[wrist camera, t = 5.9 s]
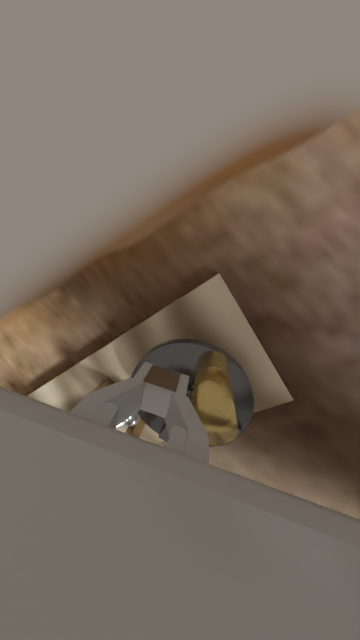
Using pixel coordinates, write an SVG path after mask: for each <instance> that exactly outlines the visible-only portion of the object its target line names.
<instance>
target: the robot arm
mask: <svg viewBox="0 0 360 640" xmlns="http://www.w3.org/2000/svg"><path fill="white" fill-rule="evenodd" d="M188 382H189V376H188V375H184V374H180V373H177V372H174V371H171V370H168V369H165V368H162V367H160V366H157V365H154V364H151V363H148V362H144V363H143V365H142V366H141V368H140V369H139V370H138V372H137V373H136V375H135V376H134V377H133V378H131V377H130V378H128V379H125V380H122V381H120V382H117V383H114V384H112V385H109V386H106V387H104V388H101V389H99V390H96V391H93V392H91V393H88V394H87V395H86V396H85V397H84V398H83V399H82V400H81V401H80V402H79V403H78V404H77V405H76V406H75V407H74V408H73V410H72V411H71V412H67V411H65V410H62V409H59V408H57V407H54V406H51V405H49V404H46V403H43V402H40V401H38V400H35V399H32V398H30V397H27V396H24V395H22V394H19V393H16V392H14V391H11V390H8V389H5V388H3V387H0V640H360V520H359V519H356V518H353V517H351V516H348V515H345V514H343V513H340V512H337V511H335V510H332V509H329V508H326V507H324V506H321V505H318V504H316V503H313V502H310V501H308V500H305V499H302V498H299V497H297V496H294V495H291V494H289V493H286V492H283V491H281V490H278V489H275V488H272V487H270V486H267V485H264V484H262V483H259V482H256V481H254V480H251V479H248V478H245V477H243V476H240V475H237V474H235V473H232V472H229V471H227V470H224V469H221V468H218V467H216V466H213V465H210V464H208V461H209V436H208V434H207V432H206V430H205V428H204V426H203V424H202V422H201V420H200V418H199V417H198V415H197V413H196V411H195V409H194V407H193V405H192V403H191V401H190V399H189V397H187V396H186V392H187V387H188ZM139 409H140V410H143V411H146V412H149V413H152V414H155V415H157V416H160V417H163V418H165V422H166V427H167V431H168V435H169V438H168V441H167V444H166V447H162V446H159V445H157V444H154V443H151V442H148V441H146V440H143V439H140V438H138V437H135V436H132V435H130V434H127V433H124V432H121V431H119V430H116V426H118V425H119V424H121V423H122V422H123V421H125V420H126V419H128V418H129V417H131V416H132V415H133V414H135V413H136V412H138V411H139Z"/></svg>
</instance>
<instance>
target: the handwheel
mask: <svg viewBox="0 0 360 640" xmlns="http://www.w3.org/2000/svg"><path fill="white" fill-rule="evenodd" d="M144 362H148V363H151V364H154V365H157V366H160V367H162V368H165V369H168V370H171V371H174V372H177V373H180V374H184V375H188V376H189V382H188V387H187V392H186V396H187V397H189V399H190V401H191V403H192V405H193V407H194V409H195V411H196V413H197V415H198V417H199V418H200V420H201V422H202V424H203V426H204V428H205V430H206V432H207V434H208V436H209V447H210V446H222V445H226V444H228V443H230V442H232V441H233V440H234V439H236V437H237V436H238V435H240V434H241V433H242V432H243V431H244V430H245V428H246V427H247V426H248V424H249V422H250V420H251V418H252V415H253V411H254V396H253V392H252V388H251V385H250V382H249V379H248V377H247V374H246V373H245V371H244V369H243V368H242V366H241V365H240V364H239V362H238V361H237V360H236V359H235V358H234V357H233V356H231V355H230V354H229V353H227V352H226V351H225V350H223V349H221V348H219V347H218V346H215V345H213V344H211V343H208V342H204V341H201V340H195V339H175V340H170V341H166V342H163V343H161V344H159V345H157V346H155V347H154V348H152V349H151V350H149V351H148V352H147V353H146V354H145V355H144V356H143V358H142V359H141V360H140V362H139V363H138V364H137V366H136V367H135V369H134V371H133V373H132V376H131V378H133V377H134V376H135V375H136V373H137V372H138V370H139V369H140V368H141V366H142V365H143V363H144ZM137 413H138V415H139V416H140V418H141V419H142V420H143V421H144V422H145V423H146V424H147V425H148V426H149V427H150V428H151V429H152V430H153V431H155V432H156V433H158V434H159V438H160V439H162V440H164V441H166V442H167V441H168V438H169V435H168V431H167V427H166V422H165V418H163V417H160V416H157V415H155V414H152V413H149V412H146V411H143V410H140V409H139V411H138V412H137Z"/></svg>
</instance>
